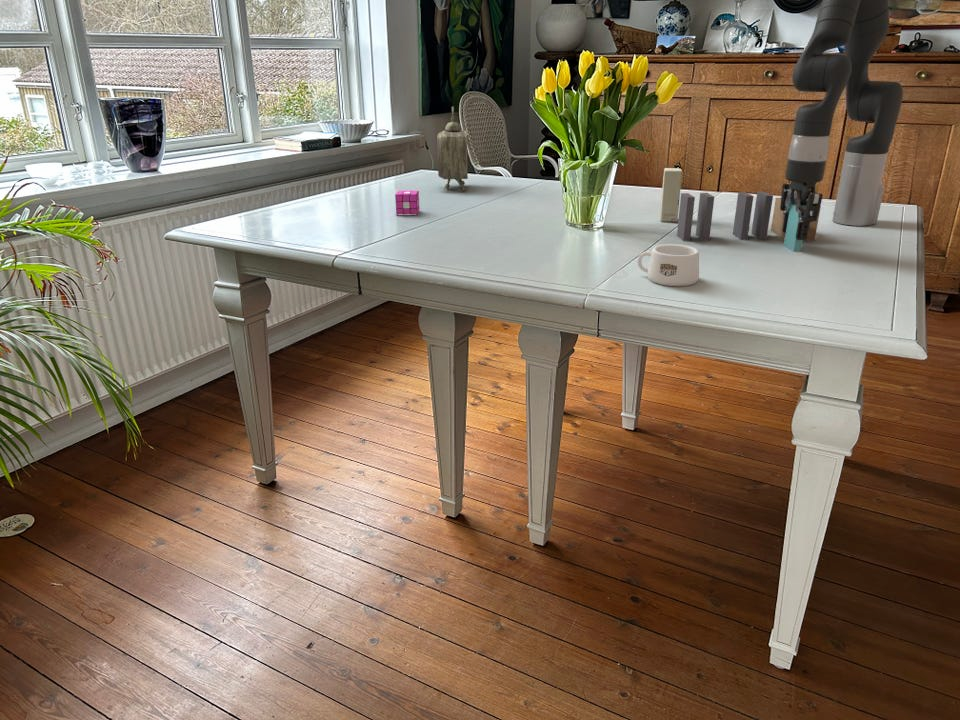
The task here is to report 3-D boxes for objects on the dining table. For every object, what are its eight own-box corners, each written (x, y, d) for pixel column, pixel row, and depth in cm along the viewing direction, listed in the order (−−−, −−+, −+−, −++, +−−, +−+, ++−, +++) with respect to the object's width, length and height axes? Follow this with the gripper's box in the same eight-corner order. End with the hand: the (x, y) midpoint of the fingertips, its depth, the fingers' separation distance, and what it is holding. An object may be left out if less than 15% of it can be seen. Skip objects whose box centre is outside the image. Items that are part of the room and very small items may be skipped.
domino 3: (739, 234, 170) (745, 191, 166) (747, 239, 166) (753, 196, 162) (732, 234, 170) (738, 192, 166) (740, 239, 166) (746, 196, 162)
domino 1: (683, 235, 170) (687, 193, 166) (690, 240, 165) (694, 197, 161) (676, 235, 170) (681, 193, 166) (683, 240, 165) (687, 197, 161)
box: (677, 222, 182) (682, 171, 177) (659, 221, 183) (664, 170, 178) (676, 218, 187) (681, 167, 182) (659, 217, 188) (663, 167, 182)
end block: (794, 230, 173) (800, 197, 170) (814, 240, 164) (820, 205, 161) (770, 230, 173) (775, 197, 170) (788, 241, 164) (794, 206, 160)
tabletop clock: (467, 193, 222) (466, 108, 212) (438, 193, 222) (435, 108, 212) (467, 184, 235) (466, 104, 225) (440, 185, 235) (437, 104, 225)
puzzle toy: (417, 215, 193) (416, 194, 191) (396, 215, 193) (395, 194, 191) (419, 211, 198) (418, 190, 196) (399, 211, 199) (398, 190, 196)
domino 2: (702, 235, 170) (706, 192, 166) (709, 240, 165) (714, 196, 161) (695, 235, 170) (700, 192, 166) (702, 240, 165) (707, 197, 161)
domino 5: (790, 245, 160) (798, 200, 156) (800, 251, 156) (808, 205, 152) (783, 245, 160) (790, 200, 156) (793, 251, 156) (801, 205, 152)
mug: (703, 276, 140) (706, 246, 137) (691, 290, 132) (695, 259, 130) (643, 269, 145) (645, 240, 143) (628, 281, 137) (631, 251, 135)
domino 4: (757, 233, 170) (764, 191, 166) (766, 239, 166) (773, 195, 162) (751, 233, 170) (757, 191, 166) (759, 239, 166) (766, 195, 162)
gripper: (842, 162, 144) (826, 243, 151) (808, 152, 157) (795, 228, 164) (805, 162, 143) (791, 244, 150) (775, 153, 157) (763, 228, 163)
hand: (794, 235), depth 157 cm, fingers open, 6 cm apart
